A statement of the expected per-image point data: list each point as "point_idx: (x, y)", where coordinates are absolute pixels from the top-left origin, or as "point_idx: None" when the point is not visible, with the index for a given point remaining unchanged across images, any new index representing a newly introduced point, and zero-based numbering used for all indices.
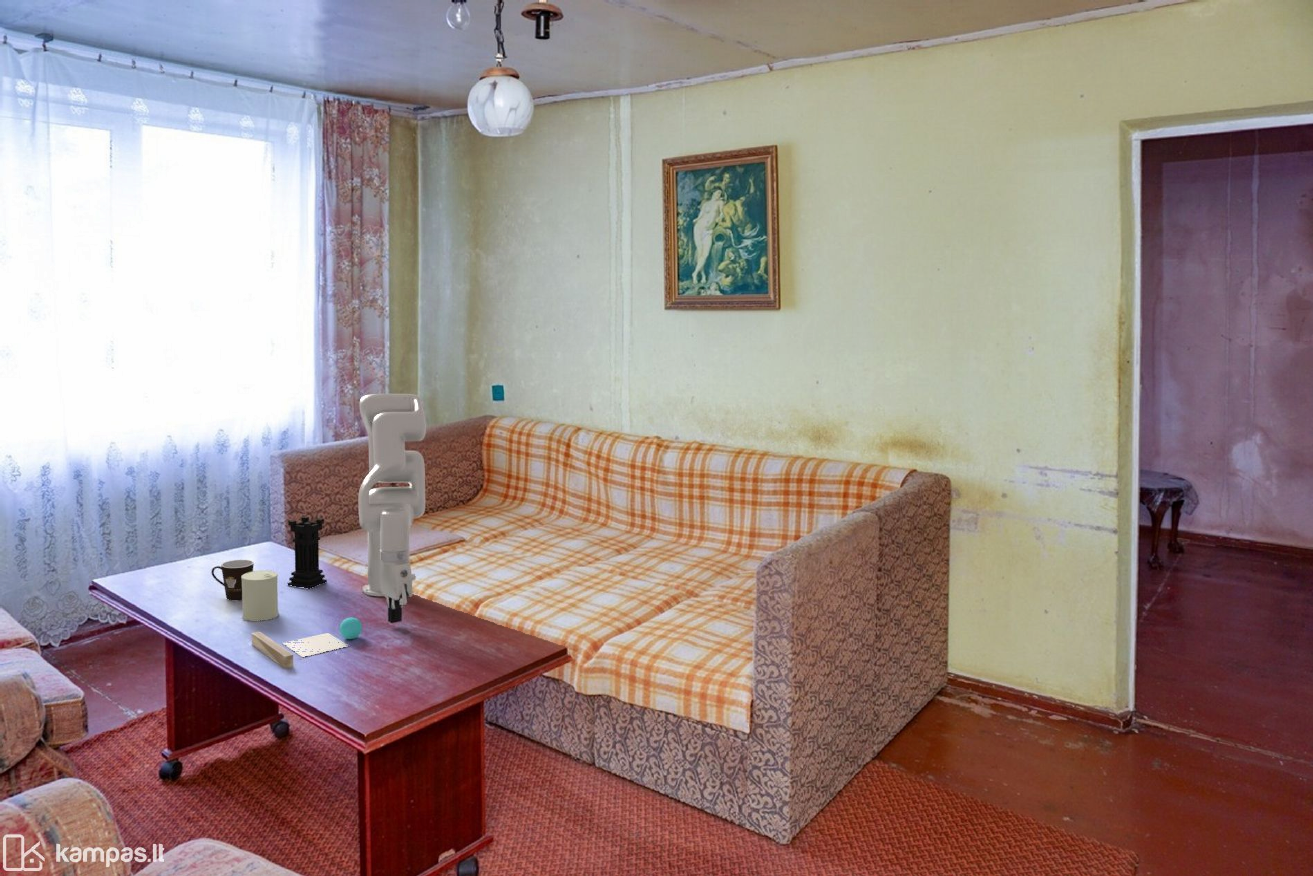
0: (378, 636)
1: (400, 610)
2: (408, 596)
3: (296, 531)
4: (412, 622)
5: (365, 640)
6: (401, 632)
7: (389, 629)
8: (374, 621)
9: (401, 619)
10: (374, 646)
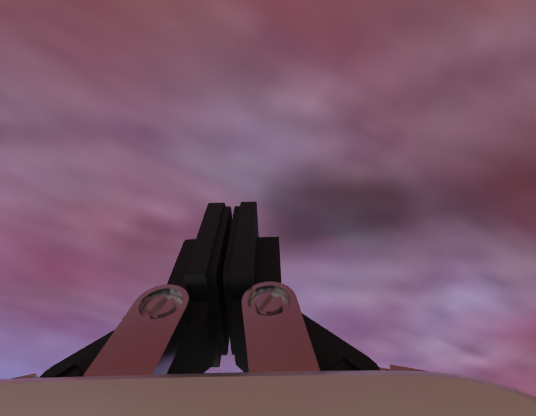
0: None
1: (253, 262)
2: (386, 371)
3: None
4: (219, 71)
5: None
6: (359, 229)
7: None
8: (76, 266)
9: (255, 205)
10: None
